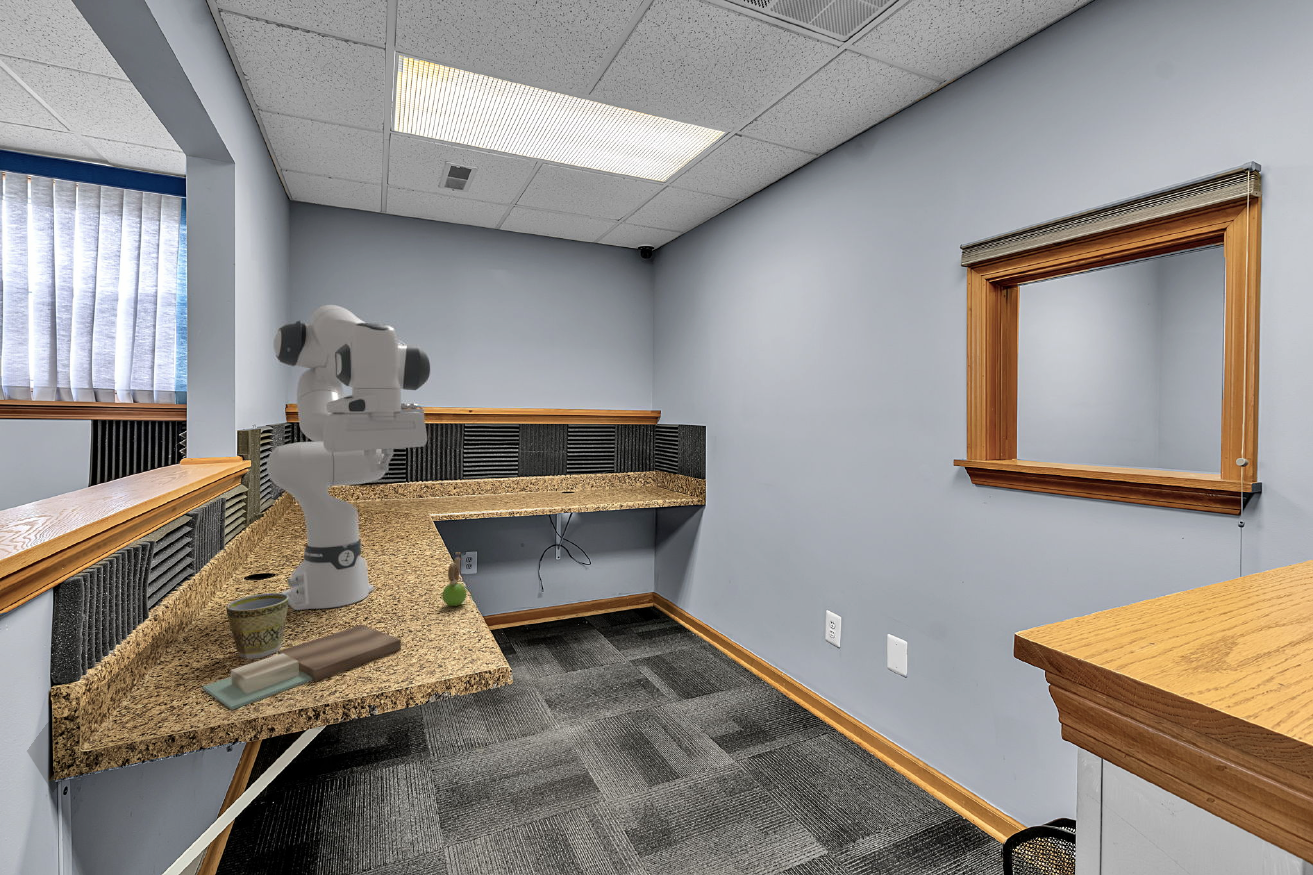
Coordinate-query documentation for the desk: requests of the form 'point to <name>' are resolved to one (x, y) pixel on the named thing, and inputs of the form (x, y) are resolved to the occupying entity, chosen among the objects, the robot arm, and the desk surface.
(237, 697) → the rubber mat
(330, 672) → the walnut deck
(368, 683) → the desk surface
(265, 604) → the ceramic cup
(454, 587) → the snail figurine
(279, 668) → the ash tile
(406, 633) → the desk surface
